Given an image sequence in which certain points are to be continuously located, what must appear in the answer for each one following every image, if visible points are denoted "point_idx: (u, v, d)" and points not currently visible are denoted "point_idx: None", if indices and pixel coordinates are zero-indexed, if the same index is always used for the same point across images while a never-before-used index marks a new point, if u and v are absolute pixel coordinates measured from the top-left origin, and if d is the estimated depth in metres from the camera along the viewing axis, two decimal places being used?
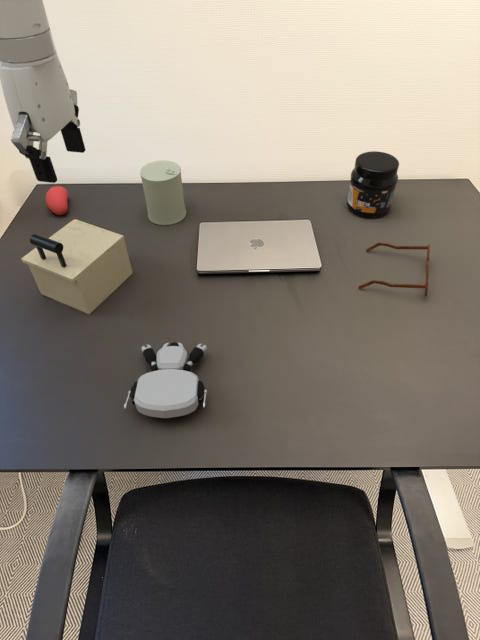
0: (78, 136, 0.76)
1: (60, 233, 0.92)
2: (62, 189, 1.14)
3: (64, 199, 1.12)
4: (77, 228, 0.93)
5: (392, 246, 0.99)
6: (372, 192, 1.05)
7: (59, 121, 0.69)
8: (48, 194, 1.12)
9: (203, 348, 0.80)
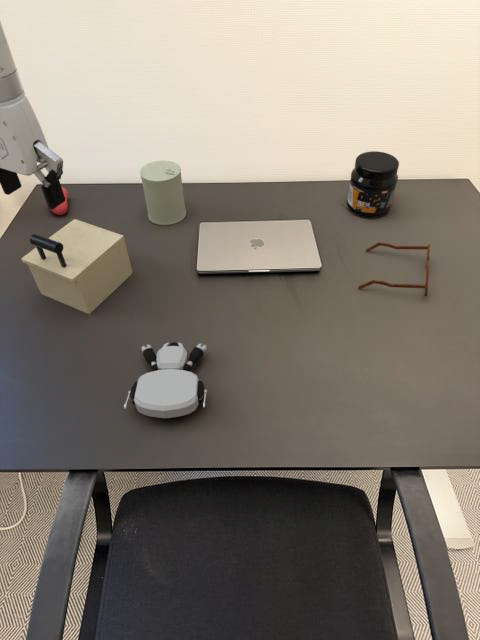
0: (15, 171, 0.77)
1: (60, 233, 0.92)
2: (62, 189, 1.14)
3: None
4: (77, 228, 0.93)
5: (392, 246, 0.99)
6: (372, 192, 1.05)
7: None
8: None
9: (203, 348, 0.80)
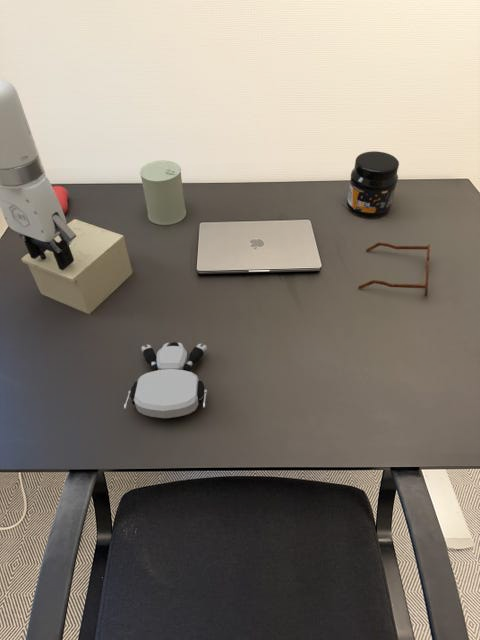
0: None
1: None
2: (62, 189, 1.14)
3: (64, 199, 1.12)
4: (77, 228, 0.93)
5: (392, 246, 0.99)
6: (372, 192, 1.05)
7: None
8: None
9: (203, 348, 0.80)
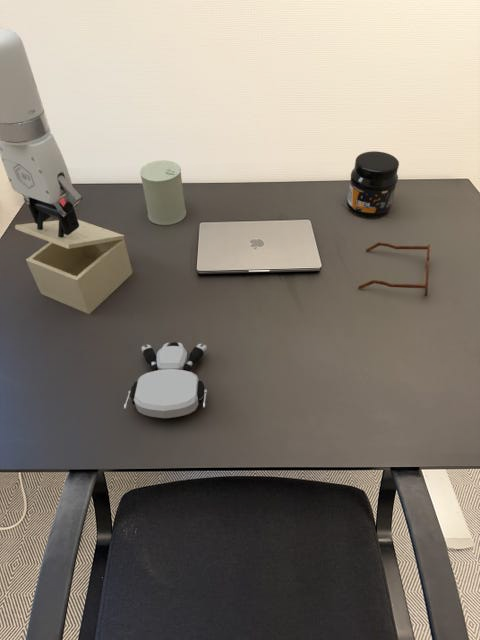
0: None
1: None
2: None
3: None
4: None
5: (392, 246, 0.99)
6: (372, 192, 1.05)
7: None
8: None
9: (203, 348, 0.80)
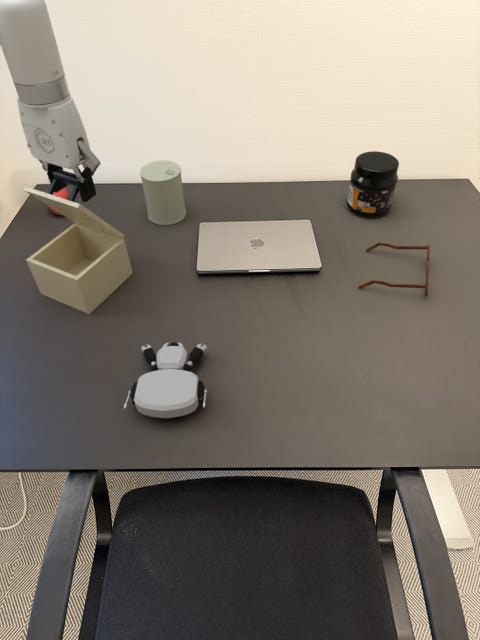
0: None
1: None
2: (62, 189, 1.14)
3: None
4: None
5: (392, 246, 0.99)
6: (372, 192, 1.05)
7: None
8: None
9: (203, 348, 0.80)
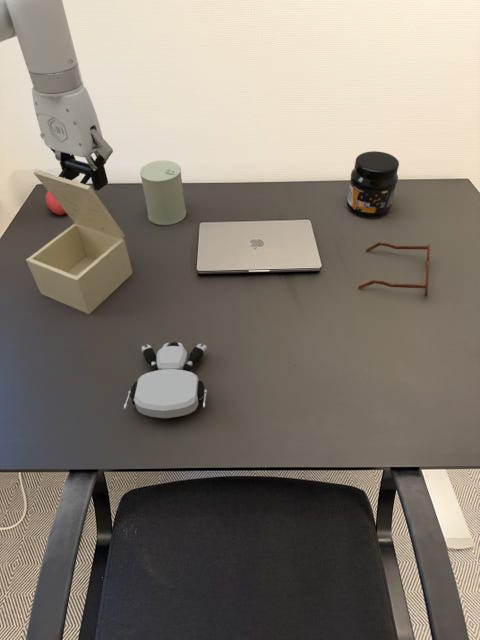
0: None
1: None
2: None
3: None
4: None
5: (392, 246, 0.99)
6: (372, 192, 1.05)
7: None
8: (48, 194, 1.12)
9: (203, 348, 0.80)
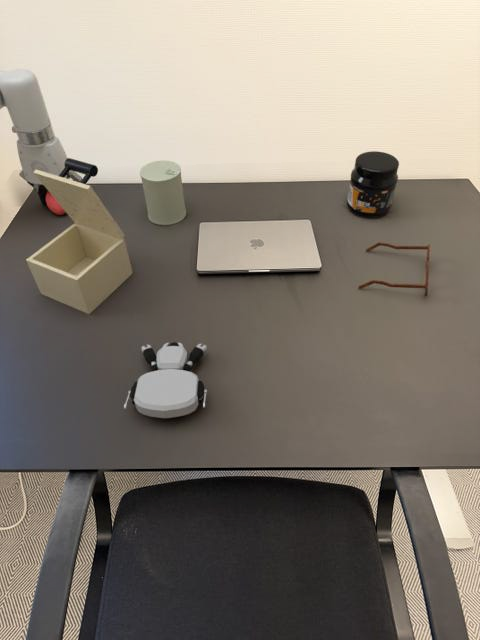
0: (47, 190, 1.15)
1: None
2: None
3: None
4: None
5: (392, 246, 0.99)
6: (372, 192, 1.05)
7: None
8: (48, 194, 1.12)
9: (203, 348, 0.80)
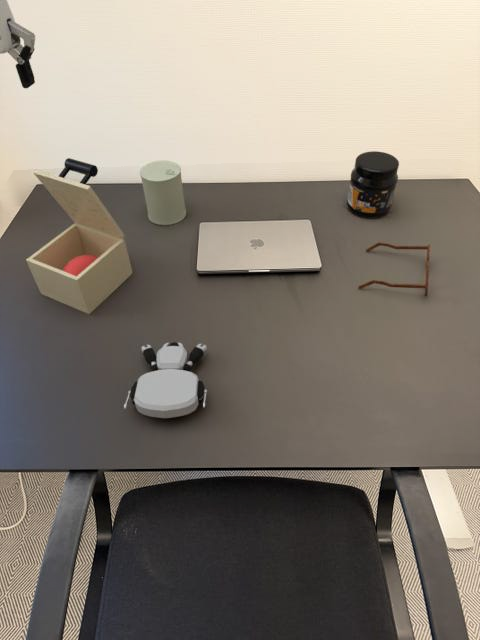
0: None
1: None
2: (87, 264, 0.93)
3: None
4: None
5: (392, 246, 0.99)
6: (372, 192, 1.05)
7: None
8: (69, 262, 0.93)
9: (203, 348, 0.80)
